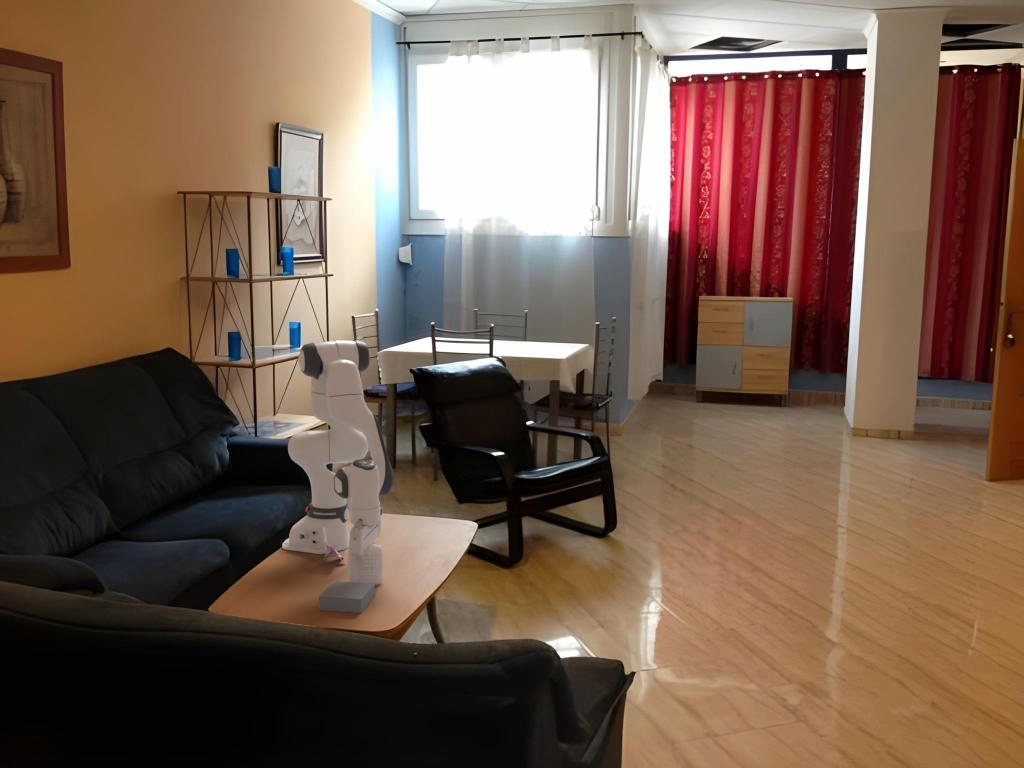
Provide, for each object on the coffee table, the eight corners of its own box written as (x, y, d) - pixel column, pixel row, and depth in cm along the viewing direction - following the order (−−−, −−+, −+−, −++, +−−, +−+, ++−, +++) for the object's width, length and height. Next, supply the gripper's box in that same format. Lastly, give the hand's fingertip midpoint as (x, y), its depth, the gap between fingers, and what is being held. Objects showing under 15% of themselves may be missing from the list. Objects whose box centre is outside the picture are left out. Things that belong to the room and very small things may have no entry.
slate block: (319, 609, 250) (319, 595, 250) (334, 594, 262) (334, 581, 261) (361, 613, 248) (361, 599, 248) (374, 597, 260) (374, 583, 260)
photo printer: (382, 580, 274) (382, 540, 272) (383, 585, 270) (383, 545, 268) (347, 582, 272) (347, 542, 270) (348, 587, 268) (347, 547, 266)
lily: (336, 574, 279) (347, 544, 281) (301, 560, 281) (313, 531, 283) (346, 574, 291) (357, 545, 293) (312, 561, 293) (324, 533, 294)
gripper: (365, 525, 257) (365, 573, 259) (384, 506, 278) (384, 550, 279) (343, 524, 258) (343, 571, 260) (364, 505, 278) (364, 549, 280)
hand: (365, 560), depth 270 cm, fingers open, 8 cm apart
